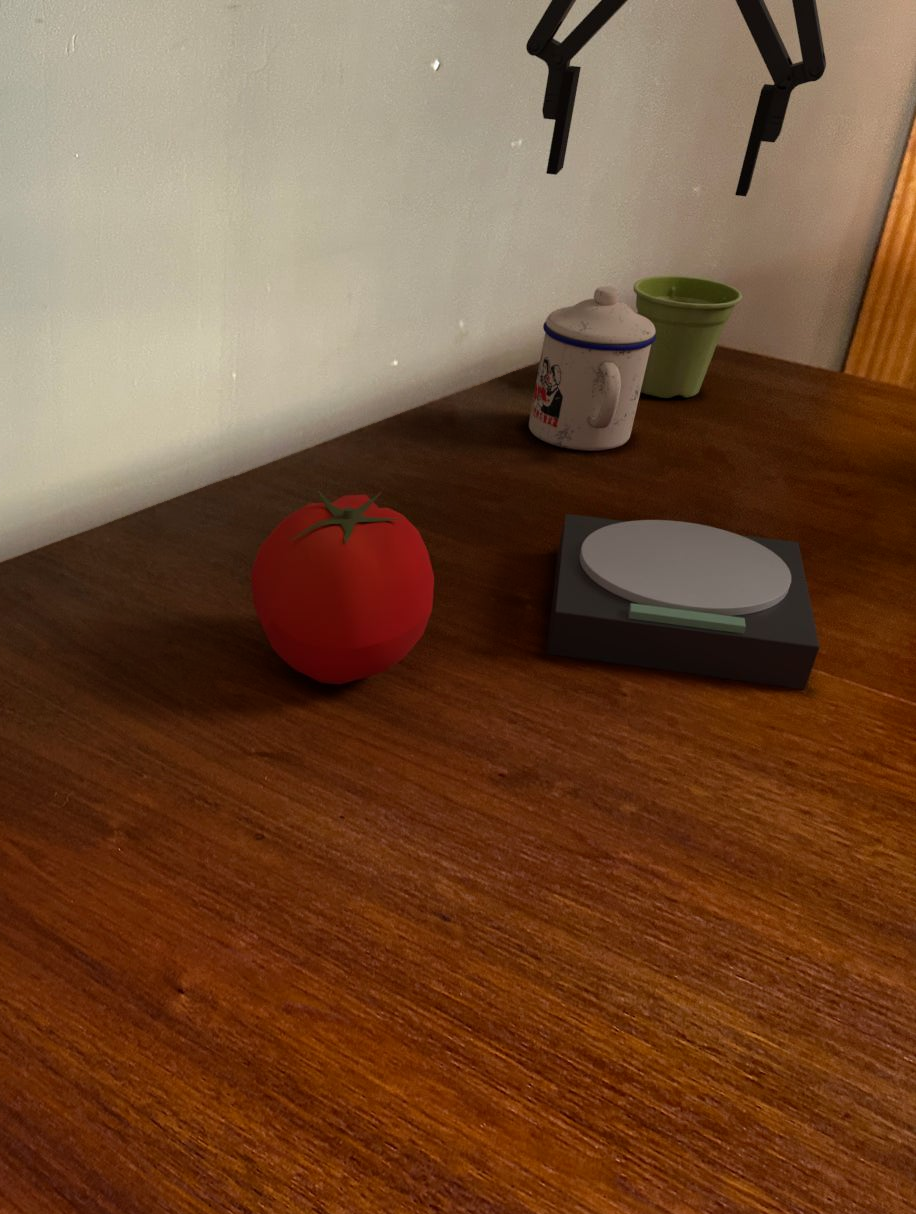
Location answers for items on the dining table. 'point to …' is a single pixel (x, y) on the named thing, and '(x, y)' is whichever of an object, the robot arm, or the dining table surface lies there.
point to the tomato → (343, 588)
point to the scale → (682, 600)
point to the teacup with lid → (591, 373)
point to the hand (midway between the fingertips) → (646, 182)
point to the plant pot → (682, 330)
